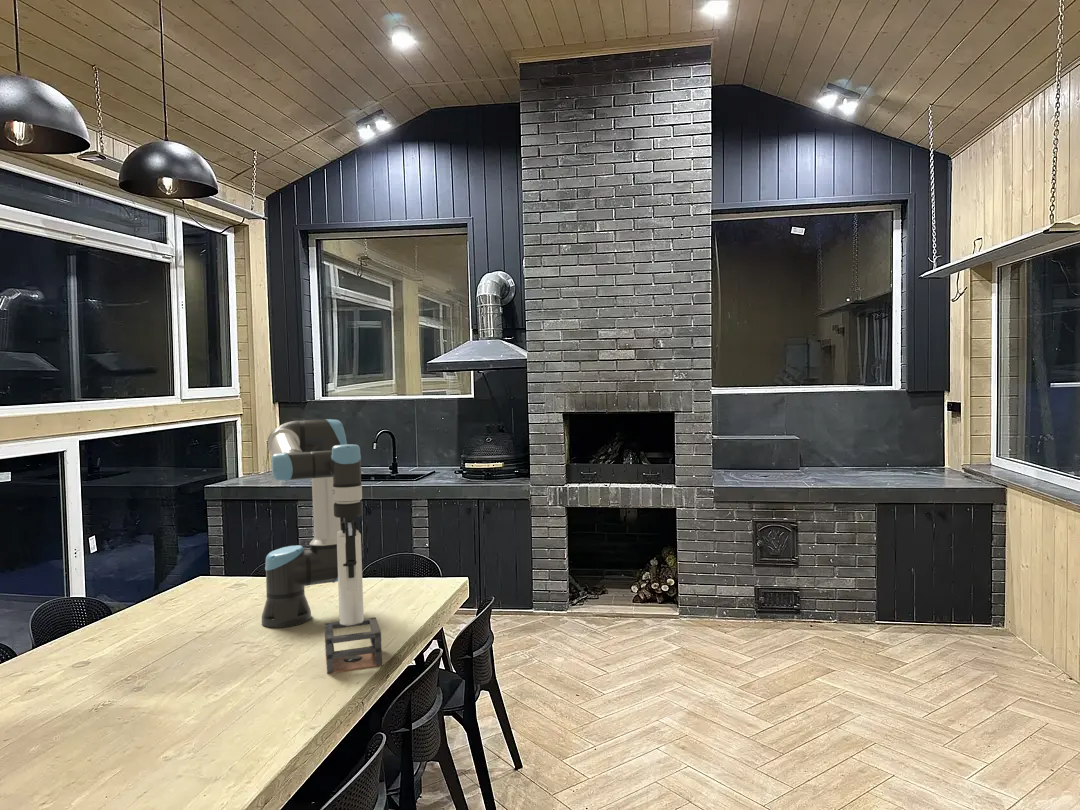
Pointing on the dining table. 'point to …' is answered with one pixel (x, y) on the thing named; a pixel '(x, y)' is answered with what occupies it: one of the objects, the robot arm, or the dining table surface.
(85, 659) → the dining table surface
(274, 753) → the dining table surface
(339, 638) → the collar stand
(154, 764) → the dining table surface
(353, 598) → the white tall cylinder
